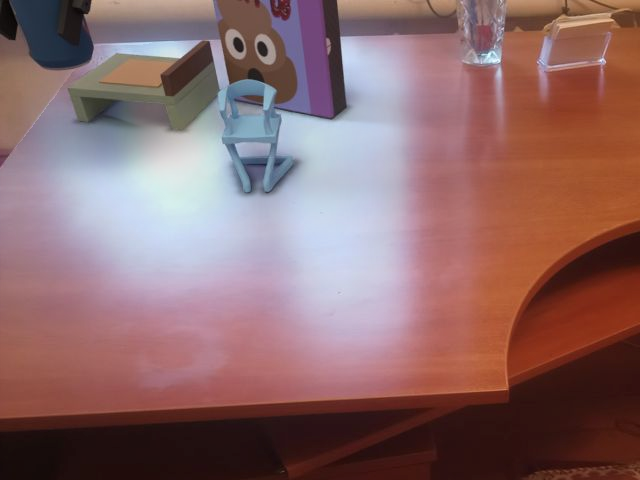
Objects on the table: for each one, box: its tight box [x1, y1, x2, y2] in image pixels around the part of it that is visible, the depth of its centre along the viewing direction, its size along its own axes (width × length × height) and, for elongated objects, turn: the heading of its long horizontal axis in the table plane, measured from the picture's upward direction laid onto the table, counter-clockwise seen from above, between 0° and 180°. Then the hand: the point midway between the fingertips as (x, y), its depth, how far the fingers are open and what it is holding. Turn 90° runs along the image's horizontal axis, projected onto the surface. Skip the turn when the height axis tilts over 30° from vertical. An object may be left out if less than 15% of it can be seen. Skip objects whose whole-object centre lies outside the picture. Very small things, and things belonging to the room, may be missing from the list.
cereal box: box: [212, 0, 347, 120], centre depth 104 cm, size 17×5×24 cm, turn 69°
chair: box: [217, 79, 294, 193], centre depth 91 cm, size 8×8×12 cm
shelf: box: [66, 39, 221, 131], centre depth 108 cm, size 16×14×8 cm
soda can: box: [9, 0, 95, 72], centre depth 81 cm, size 7×7×12 cm
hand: (35, 36), depth 80 cm, fingers closed on soda can, 7 cm apart
